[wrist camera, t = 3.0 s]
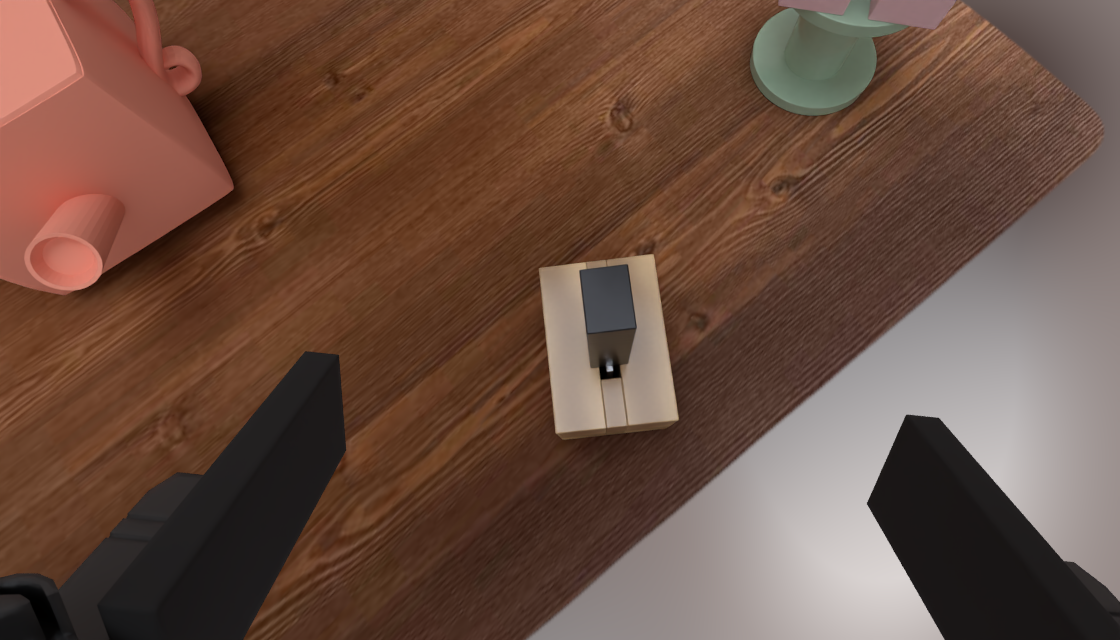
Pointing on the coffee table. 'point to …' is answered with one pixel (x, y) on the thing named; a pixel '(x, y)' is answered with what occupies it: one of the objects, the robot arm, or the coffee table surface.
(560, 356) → the knife block
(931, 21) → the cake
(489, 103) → the coffee table surface
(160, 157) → the teapot
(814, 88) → the cake stand
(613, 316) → the knife
